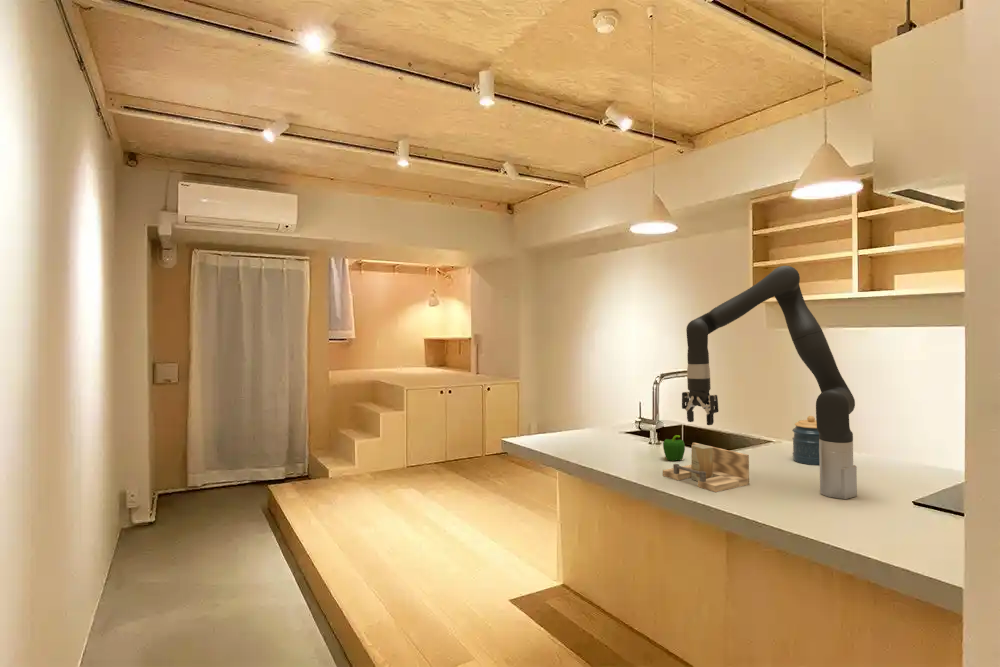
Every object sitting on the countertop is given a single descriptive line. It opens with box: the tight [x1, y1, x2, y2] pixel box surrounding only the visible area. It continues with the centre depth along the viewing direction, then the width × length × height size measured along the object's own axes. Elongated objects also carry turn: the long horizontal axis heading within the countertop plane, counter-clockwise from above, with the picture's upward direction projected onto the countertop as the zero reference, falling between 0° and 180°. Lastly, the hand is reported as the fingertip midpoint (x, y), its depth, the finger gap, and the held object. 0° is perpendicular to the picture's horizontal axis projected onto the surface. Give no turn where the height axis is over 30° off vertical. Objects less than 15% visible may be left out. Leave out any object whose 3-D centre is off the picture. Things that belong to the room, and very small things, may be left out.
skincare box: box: [690, 443, 714, 482], centre depth 202 cm, size 6×4×12 cm
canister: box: [791, 415, 820, 466], centre depth 224 cm, size 13×13×18 cm
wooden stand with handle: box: [662, 442, 750, 493], centre depth 203 cm, size 24×16×10 cm, turn 28°
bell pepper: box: [662, 434, 686, 462], centre depth 232 cm, size 8×8×10 cm
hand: (700, 423), depth 202 cm, fingers open, 8 cm apart
